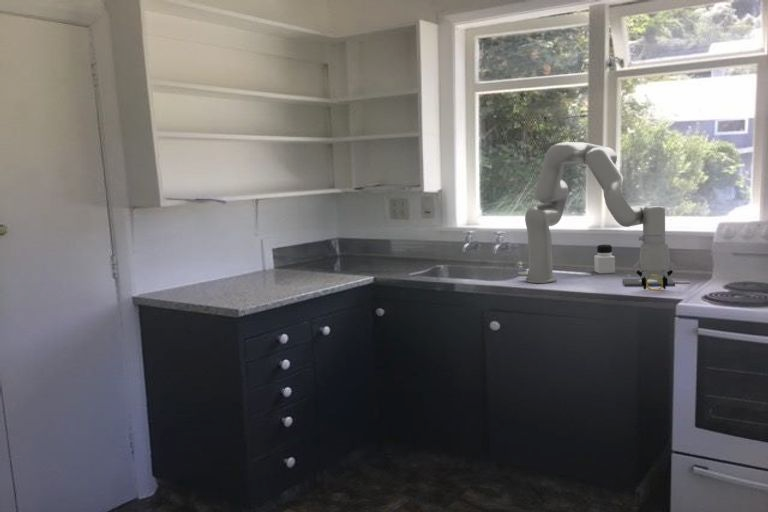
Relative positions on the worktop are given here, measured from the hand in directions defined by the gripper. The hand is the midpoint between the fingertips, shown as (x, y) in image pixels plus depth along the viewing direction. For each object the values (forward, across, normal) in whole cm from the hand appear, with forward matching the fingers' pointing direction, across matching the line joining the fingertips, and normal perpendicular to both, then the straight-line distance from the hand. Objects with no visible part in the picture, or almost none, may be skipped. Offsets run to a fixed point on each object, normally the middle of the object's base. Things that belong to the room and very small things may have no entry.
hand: (654, 287), depth 251 cm
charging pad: (+1, +2, +14) cm, 14 cm away
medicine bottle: (+1, -16, +44) cm, 47 cm away
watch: (+1, 0, 0) cm, 1 cm away
